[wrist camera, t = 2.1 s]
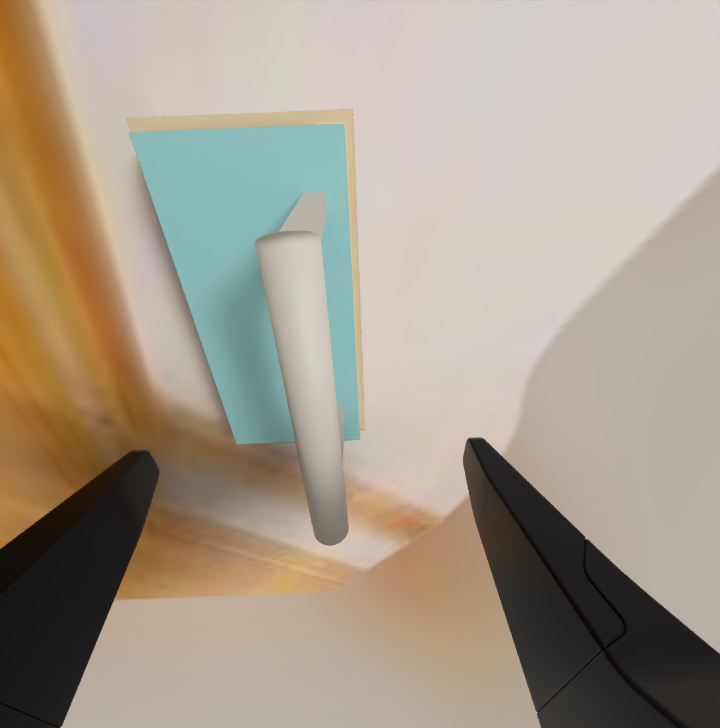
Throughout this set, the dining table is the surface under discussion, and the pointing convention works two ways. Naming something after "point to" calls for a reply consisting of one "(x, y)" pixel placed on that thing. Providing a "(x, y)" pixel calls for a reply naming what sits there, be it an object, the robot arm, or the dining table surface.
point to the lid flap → (268, 285)
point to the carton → (286, 120)
